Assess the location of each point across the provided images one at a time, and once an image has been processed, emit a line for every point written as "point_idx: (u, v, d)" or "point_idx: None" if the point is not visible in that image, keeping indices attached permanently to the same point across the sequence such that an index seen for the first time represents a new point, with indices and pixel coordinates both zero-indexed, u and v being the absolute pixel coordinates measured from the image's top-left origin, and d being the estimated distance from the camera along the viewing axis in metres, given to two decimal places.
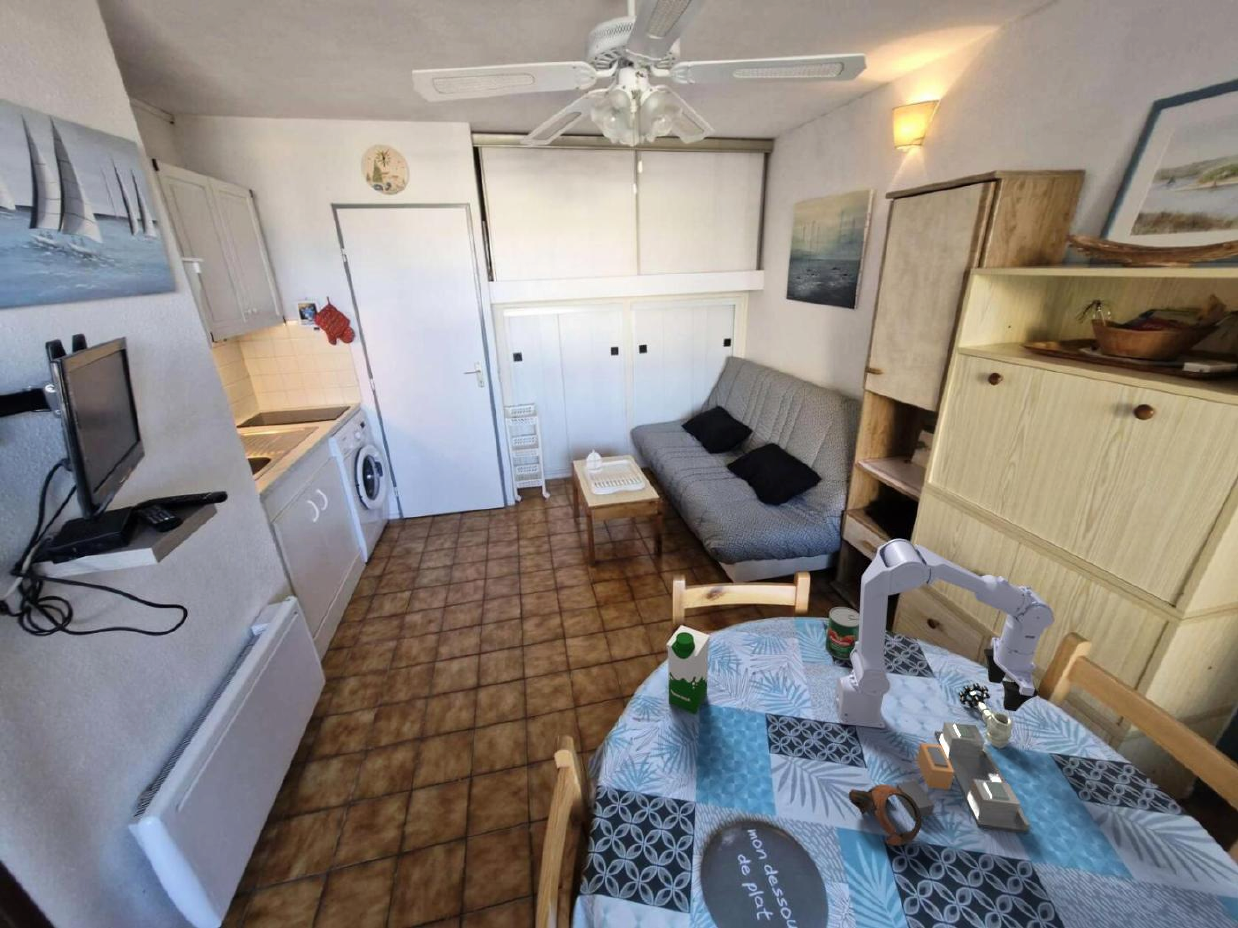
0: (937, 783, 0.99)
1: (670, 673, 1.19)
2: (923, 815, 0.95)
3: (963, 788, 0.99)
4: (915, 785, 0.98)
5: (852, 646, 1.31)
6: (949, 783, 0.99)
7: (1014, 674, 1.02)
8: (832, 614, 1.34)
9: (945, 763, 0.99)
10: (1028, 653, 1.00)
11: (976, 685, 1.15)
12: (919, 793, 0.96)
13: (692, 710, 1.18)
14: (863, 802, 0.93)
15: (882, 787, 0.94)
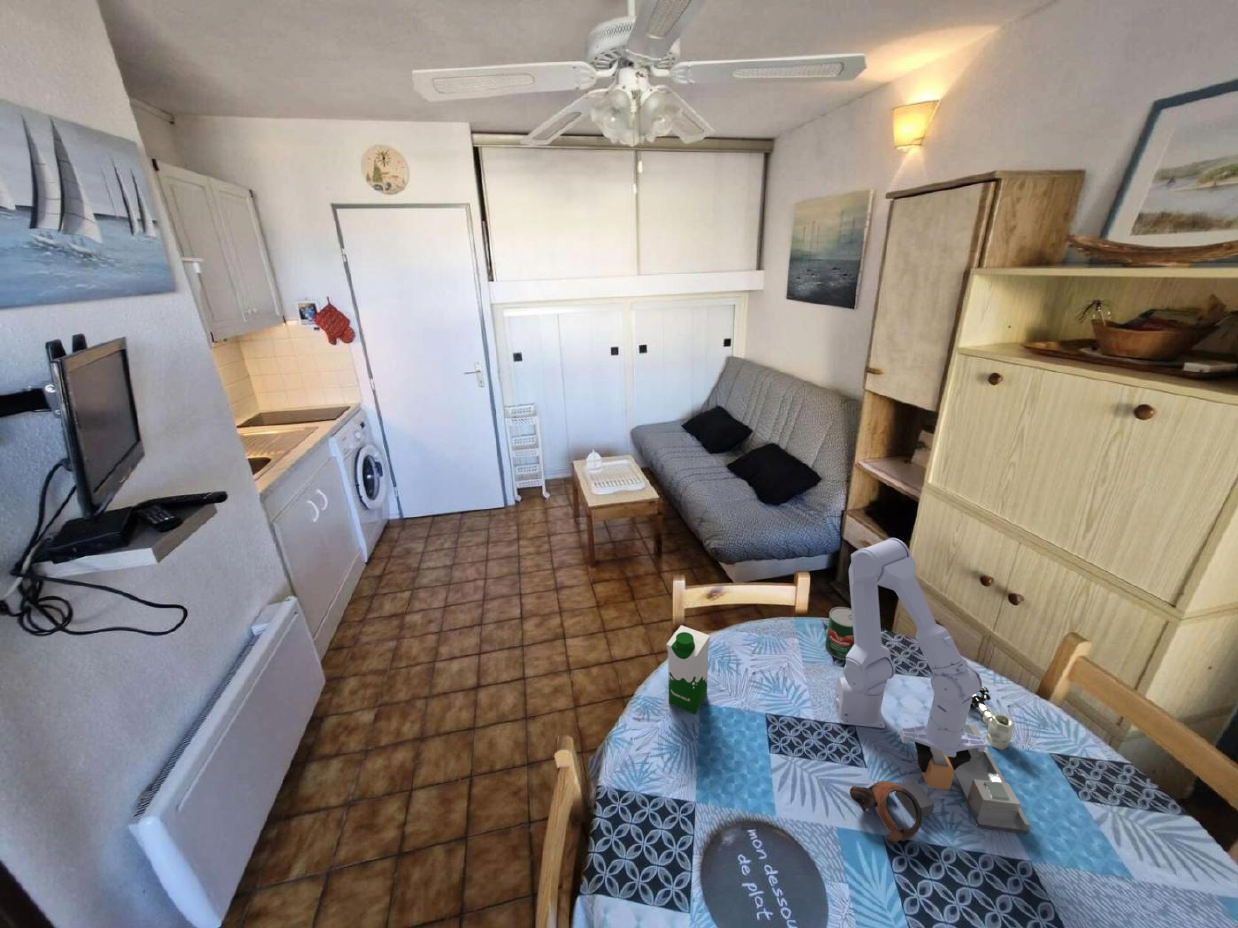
0: (937, 783, 0.99)
1: (670, 673, 1.19)
2: (924, 815, 0.95)
3: (963, 788, 0.99)
4: (914, 785, 0.98)
5: (852, 646, 1.31)
6: (949, 783, 0.99)
7: (921, 732, 1.00)
8: (832, 614, 1.34)
9: (945, 763, 0.99)
10: (940, 726, 0.95)
11: None
12: (919, 793, 0.96)
13: (692, 710, 1.18)
14: (864, 799, 0.93)
15: (883, 784, 0.95)
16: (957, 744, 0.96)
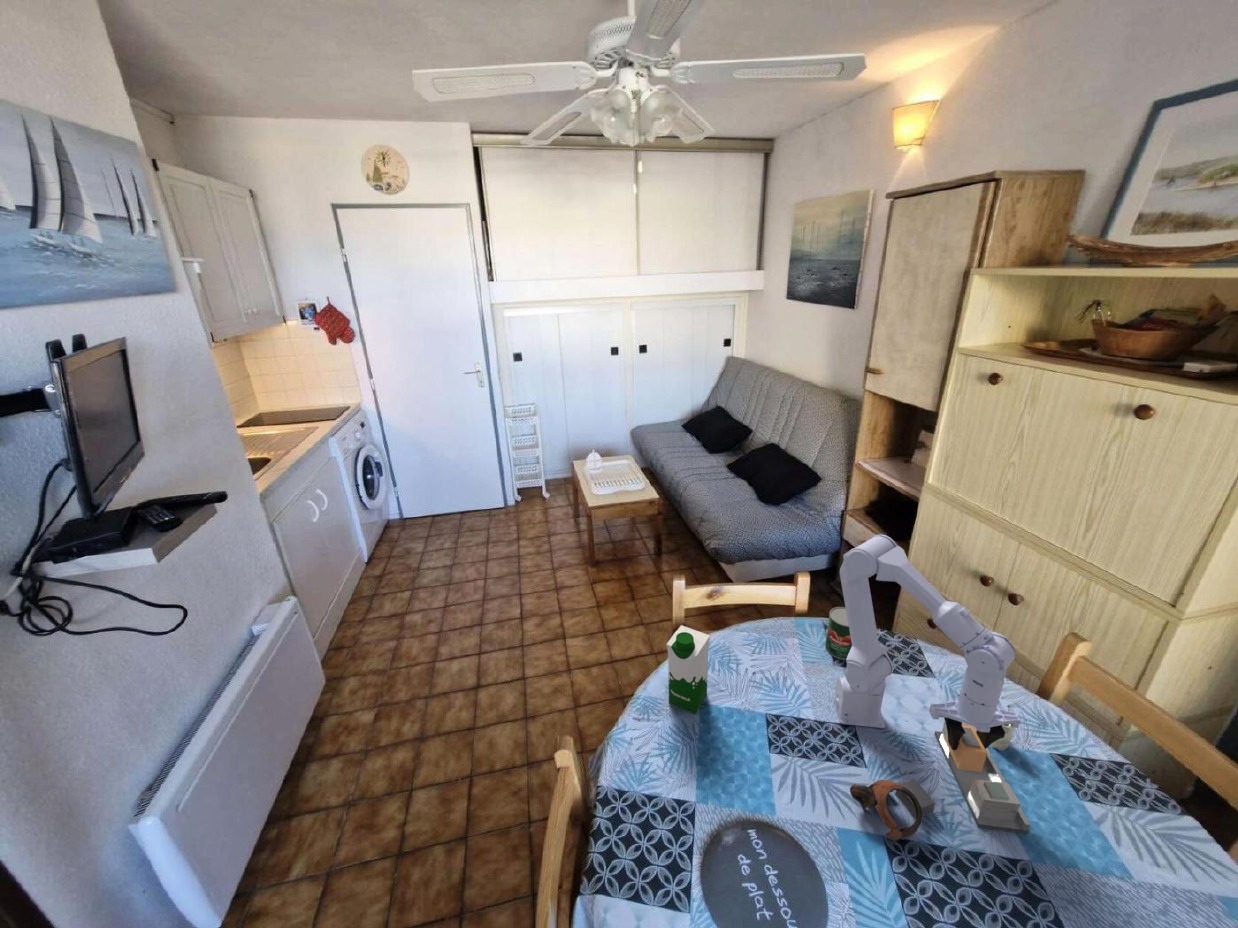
0: (968, 764, 0.96)
1: (670, 673, 1.19)
2: (924, 814, 0.95)
3: (963, 788, 0.99)
4: (915, 784, 0.98)
5: None
6: (981, 764, 0.96)
7: (952, 708, 0.97)
8: (832, 614, 1.34)
9: (977, 744, 0.96)
10: (977, 702, 0.92)
11: None
12: (919, 792, 0.96)
13: (692, 710, 1.18)
14: (864, 797, 0.94)
15: (883, 782, 0.95)
16: (991, 719, 0.93)
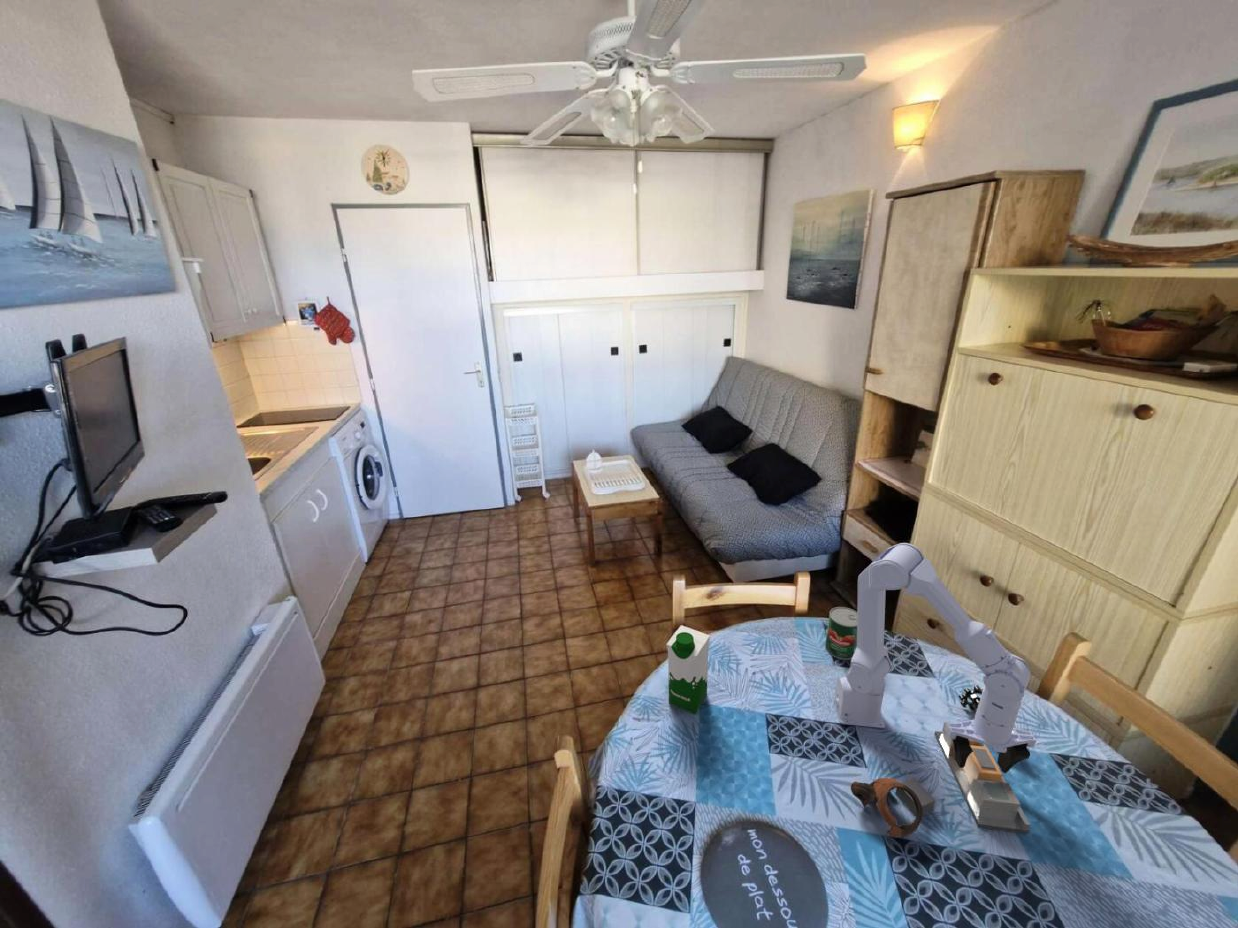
0: None
1: (670, 673, 1.19)
2: (925, 812, 0.95)
3: (963, 788, 0.99)
4: (914, 783, 0.98)
5: (852, 646, 1.31)
6: None
7: (968, 727, 0.98)
8: (832, 614, 1.34)
9: (992, 765, 0.97)
10: (996, 723, 0.93)
11: (977, 688, 1.14)
12: (919, 790, 0.97)
13: (692, 710, 1.18)
14: (865, 794, 0.94)
15: (884, 780, 0.96)
16: (1007, 739, 0.94)
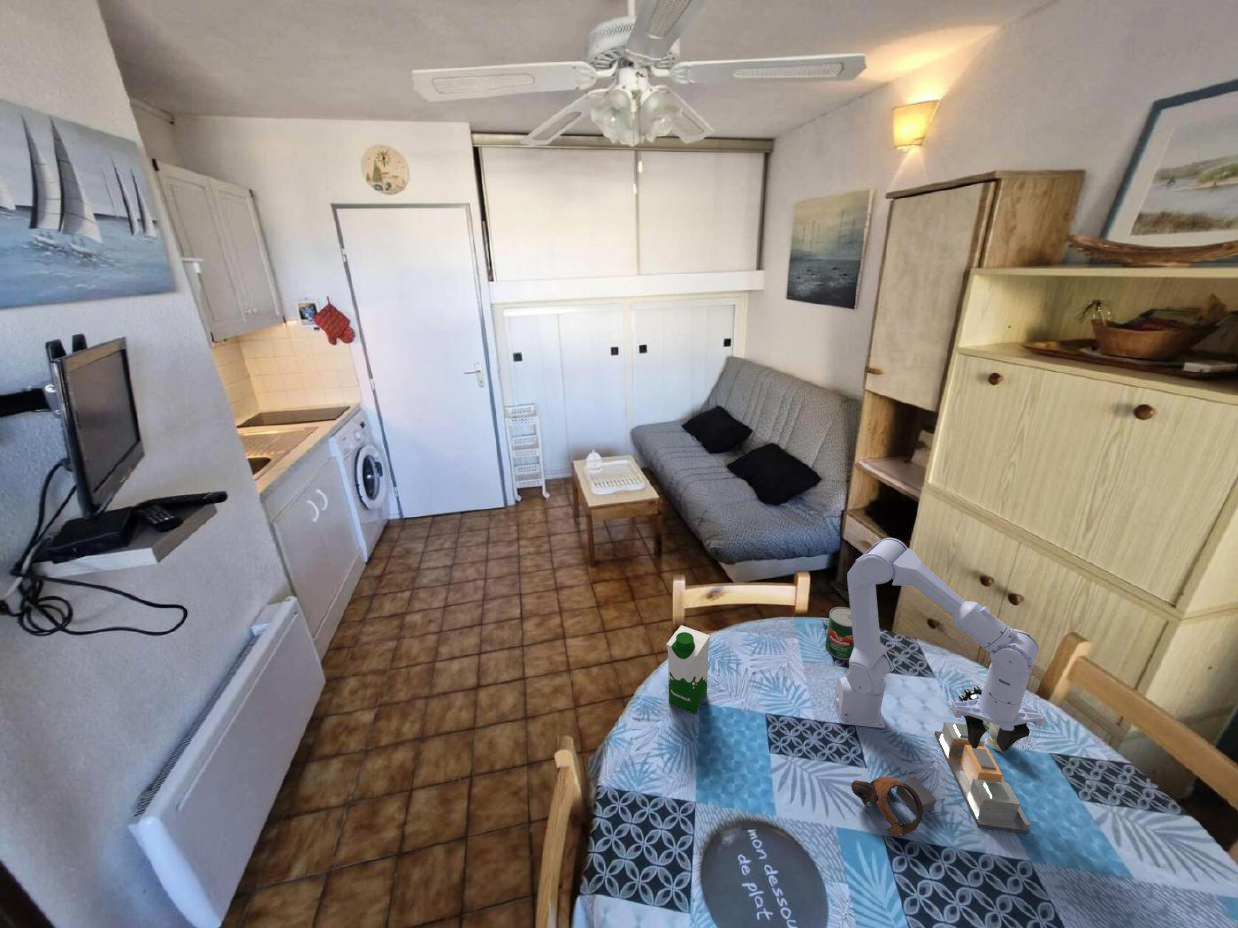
0: None
1: (670, 673, 1.19)
2: (926, 811, 0.95)
3: (963, 788, 0.99)
4: (915, 782, 0.98)
5: (852, 646, 1.31)
6: None
7: (974, 706, 0.96)
8: (832, 614, 1.34)
9: (992, 765, 0.97)
10: (1003, 701, 0.91)
11: (977, 688, 1.14)
12: (920, 789, 0.97)
13: (692, 710, 1.18)
14: (865, 793, 0.94)
15: (884, 779, 0.96)
16: (1014, 717, 0.92)
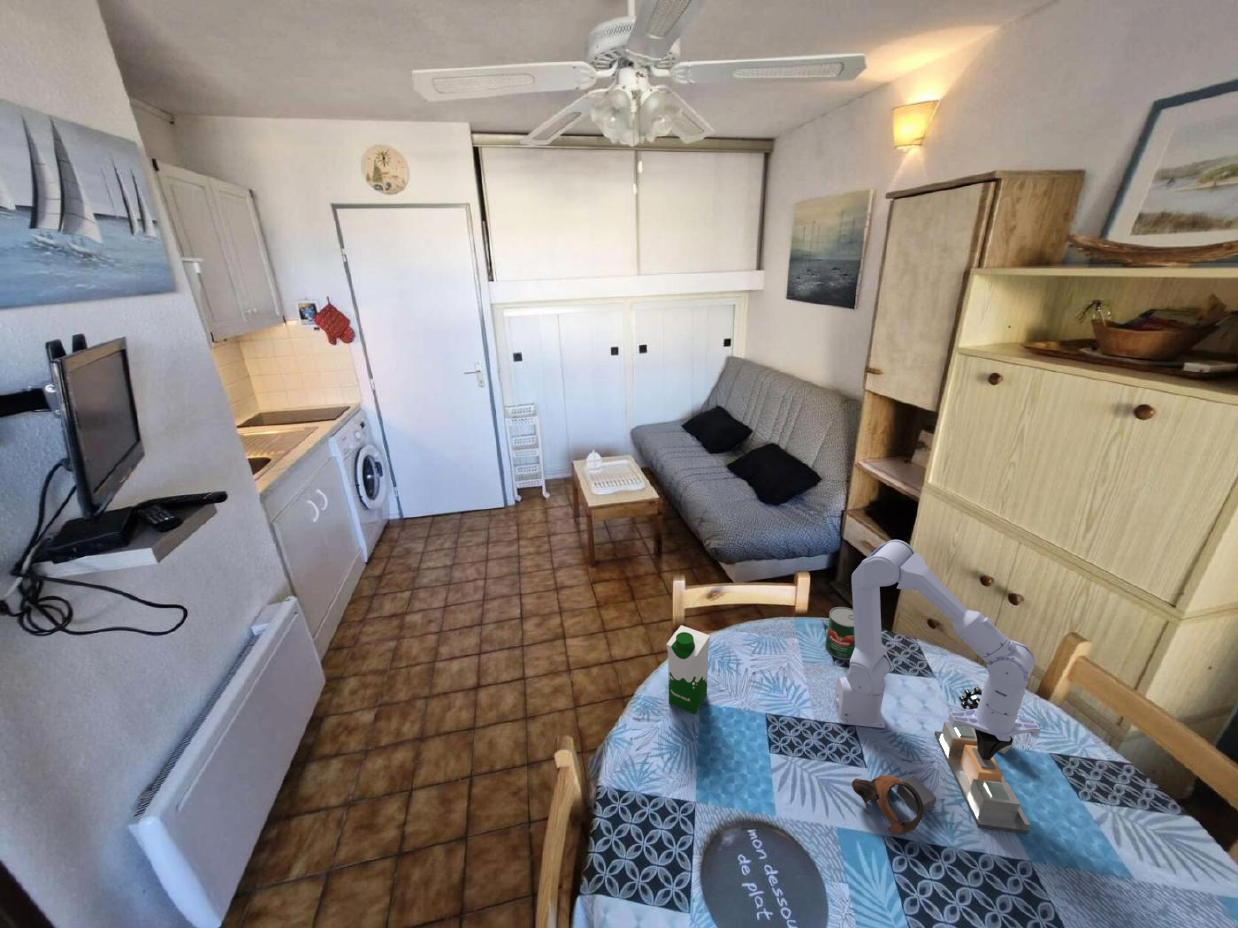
0: None
1: (670, 673, 1.19)
2: (927, 810, 0.96)
3: (963, 788, 0.99)
4: (915, 781, 0.99)
5: (852, 646, 1.31)
6: None
7: (972, 716, 0.97)
8: (832, 614, 1.34)
9: (992, 765, 0.97)
10: (999, 712, 0.92)
11: (977, 689, 1.14)
12: (920, 788, 0.97)
13: (692, 710, 1.18)
14: (866, 791, 0.95)
15: (885, 777, 0.96)
16: (1011, 728, 0.93)
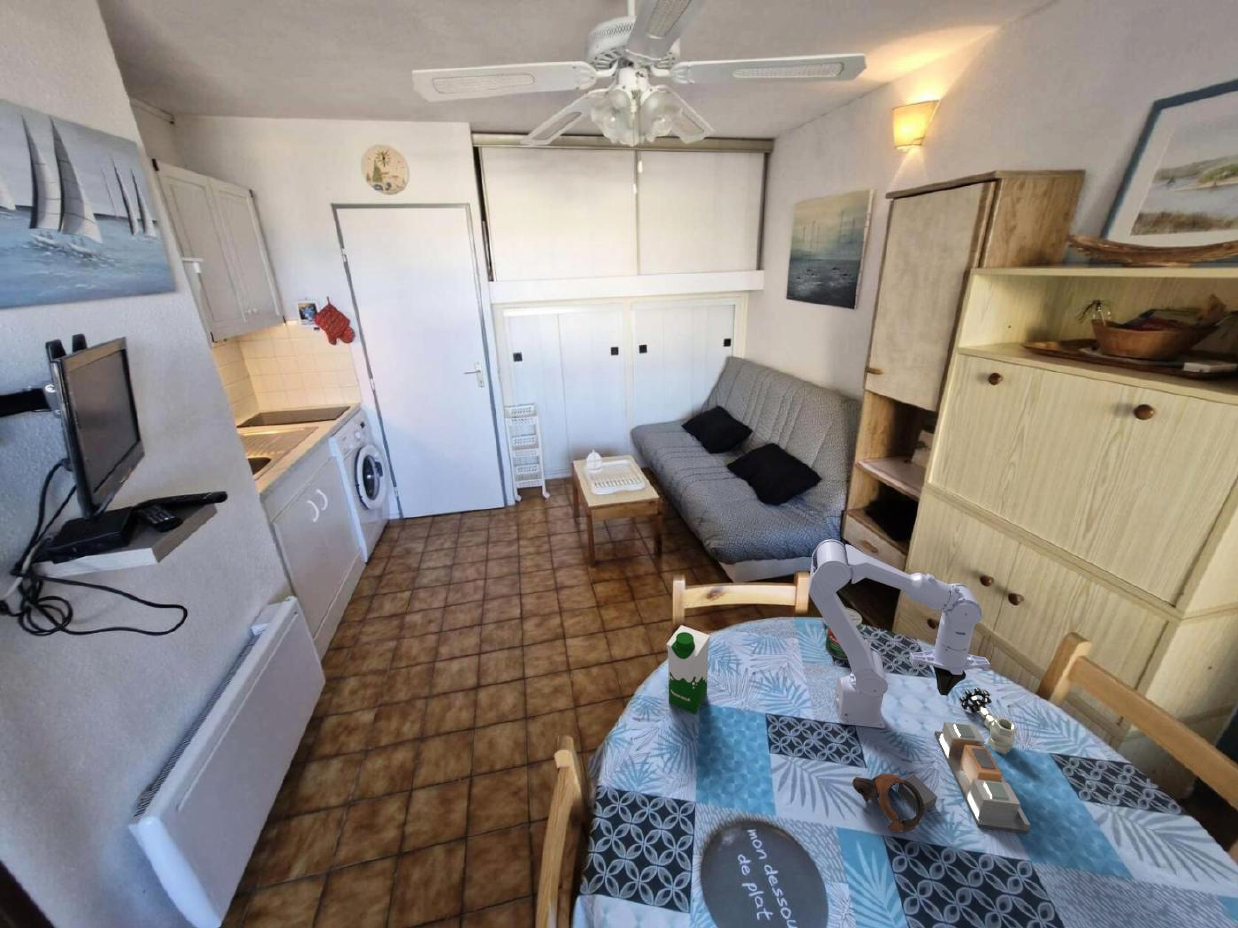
0: None
1: (670, 673, 1.19)
2: (928, 809, 0.96)
3: (963, 788, 0.99)
4: (915, 780, 0.99)
5: None
6: None
7: (930, 655, 1.07)
8: None
9: (992, 765, 0.97)
10: (960, 649, 1.01)
11: (977, 690, 1.14)
12: (921, 787, 0.97)
13: (692, 710, 1.18)
14: (866, 789, 0.95)
15: (886, 776, 0.96)
16: (963, 663, 1.03)
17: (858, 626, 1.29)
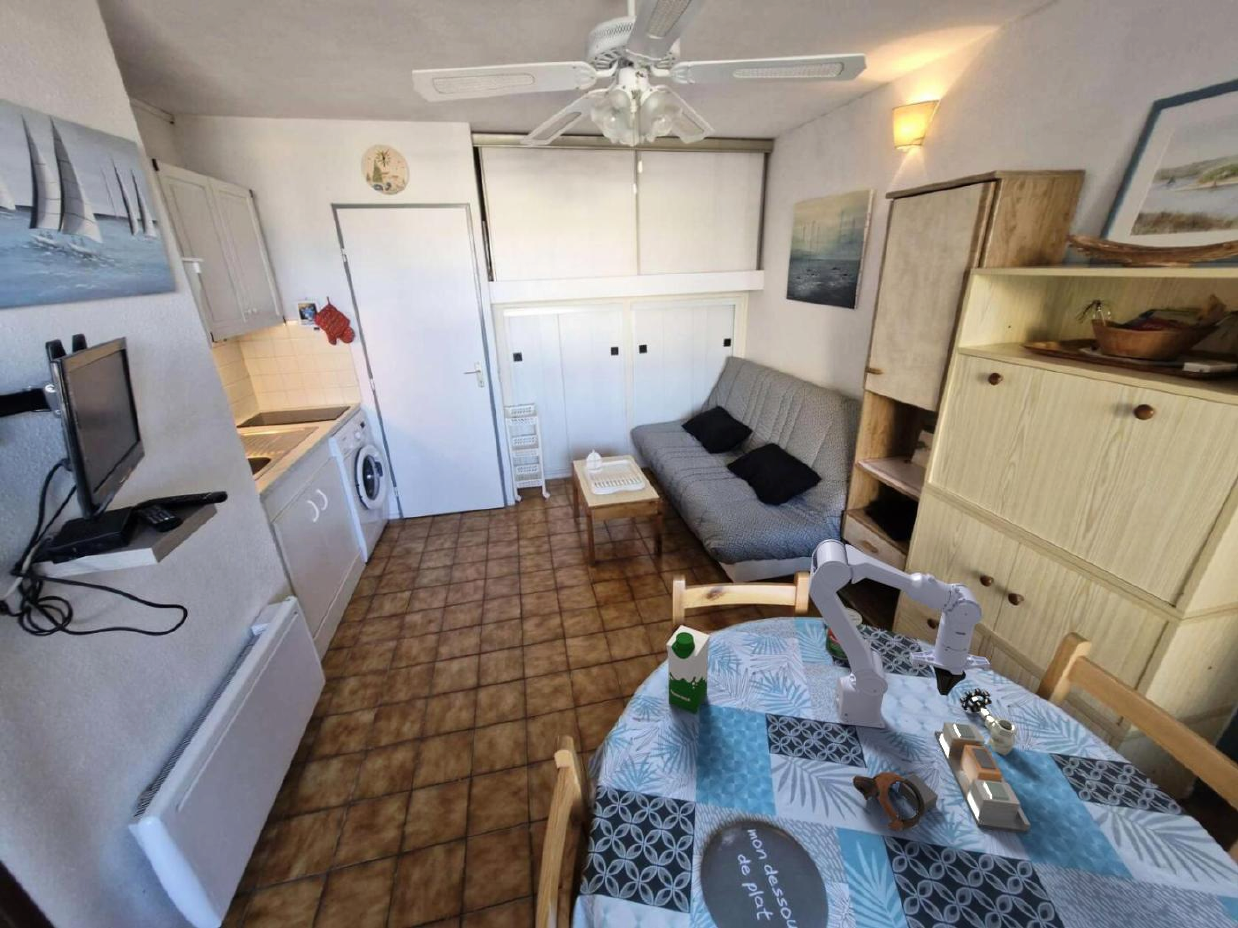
0: None
1: (670, 673, 1.19)
2: (929, 808, 0.96)
3: (963, 788, 0.99)
4: (916, 779, 0.99)
5: None
6: None
7: (930, 655, 1.07)
8: None
9: (992, 765, 0.97)
10: (960, 649, 1.01)
11: (978, 690, 1.14)
12: (921, 786, 0.97)
13: (692, 710, 1.18)
14: (866, 788, 0.95)
15: (886, 774, 0.97)
16: (963, 663, 1.03)
17: (858, 626, 1.29)
